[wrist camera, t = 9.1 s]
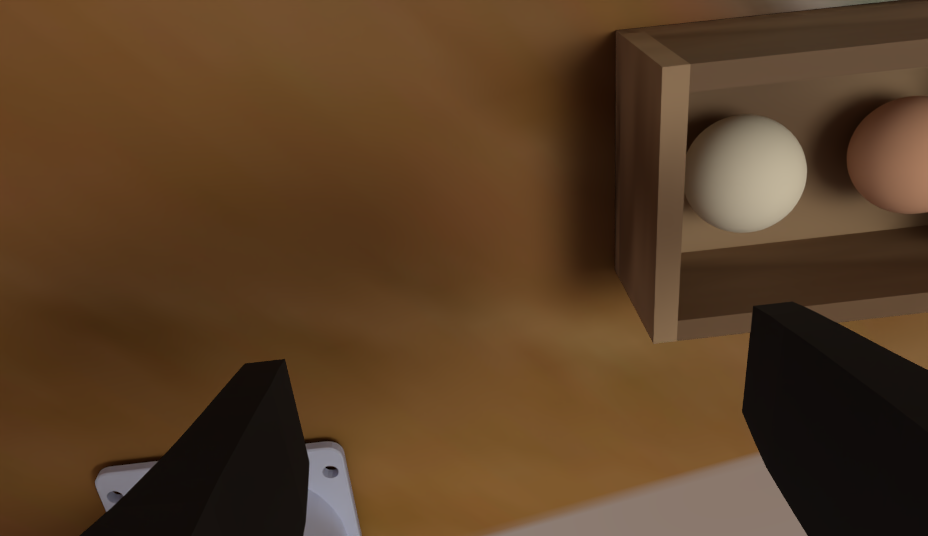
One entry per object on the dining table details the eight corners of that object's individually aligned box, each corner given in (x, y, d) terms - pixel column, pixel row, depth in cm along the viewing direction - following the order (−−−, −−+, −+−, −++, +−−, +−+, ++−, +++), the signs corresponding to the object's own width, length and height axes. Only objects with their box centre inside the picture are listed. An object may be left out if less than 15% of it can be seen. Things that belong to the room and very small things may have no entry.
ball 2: (922, 181, 22) (994, 226, 19) (819, 193, 22) (876, 239, 19) (945, 76, 20) (1025, 108, 18) (833, 88, 20) (897, 122, 18)
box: (942, 232, 23) (1039, 299, 20) (614, 269, 23) (653, 343, 20) (997, -10, 20) (1125, 17, 16) (615, 30, 20) (662, 67, 16)
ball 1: (770, 198, 22) (820, 245, 19) (665, 210, 22) (701, 259, 19) (781, 94, 20) (837, 129, 18) (668, 106, 20) (709, 143, 18)
